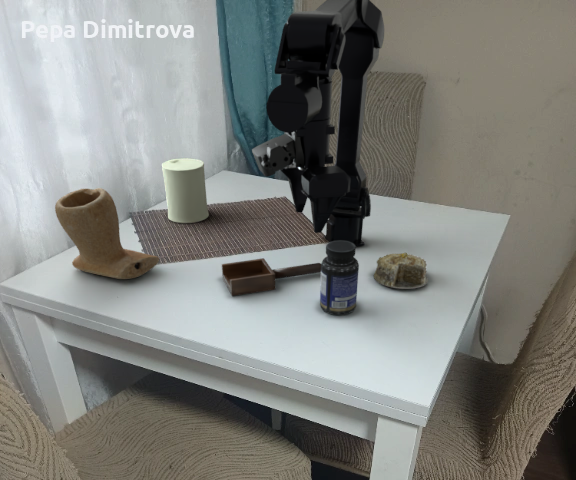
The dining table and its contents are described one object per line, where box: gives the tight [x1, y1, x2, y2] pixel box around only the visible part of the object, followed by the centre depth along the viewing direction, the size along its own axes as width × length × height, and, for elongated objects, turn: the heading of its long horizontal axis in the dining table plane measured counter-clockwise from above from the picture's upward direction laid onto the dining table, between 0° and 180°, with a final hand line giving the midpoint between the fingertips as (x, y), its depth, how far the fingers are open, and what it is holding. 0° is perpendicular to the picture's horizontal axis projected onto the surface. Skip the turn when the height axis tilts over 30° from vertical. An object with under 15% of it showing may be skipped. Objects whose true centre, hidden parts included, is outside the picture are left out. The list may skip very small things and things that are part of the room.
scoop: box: [221, 258, 322, 297], centre depth 104 cm, size 18×7×3 cm, turn 109°
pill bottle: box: [319, 240, 360, 316], centre depth 93 cm, size 6×6×11 cm
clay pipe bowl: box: [54, 187, 160, 280], centre depth 103 cm, size 15×12×15 cm
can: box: [161, 157, 210, 224], centre depth 127 cm, size 9×9×12 cm
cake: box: [373, 252, 429, 290], centre depth 104 cm, size 10×10×5 cm
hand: (308, 221), depth 92 cm, fingers open, 9 cm apart
